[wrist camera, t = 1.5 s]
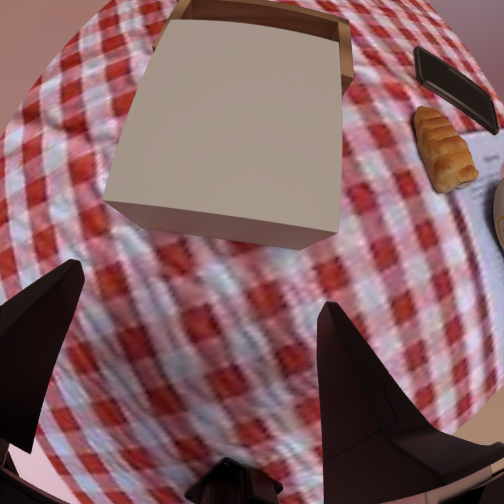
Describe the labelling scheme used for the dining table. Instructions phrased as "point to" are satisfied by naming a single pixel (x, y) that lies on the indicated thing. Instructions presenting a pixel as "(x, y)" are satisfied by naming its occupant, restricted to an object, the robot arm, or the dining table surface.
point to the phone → (455, 88)
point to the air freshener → (499, 212)
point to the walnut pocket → (273, 23)
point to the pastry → (443, 151)
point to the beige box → (234, 136)
